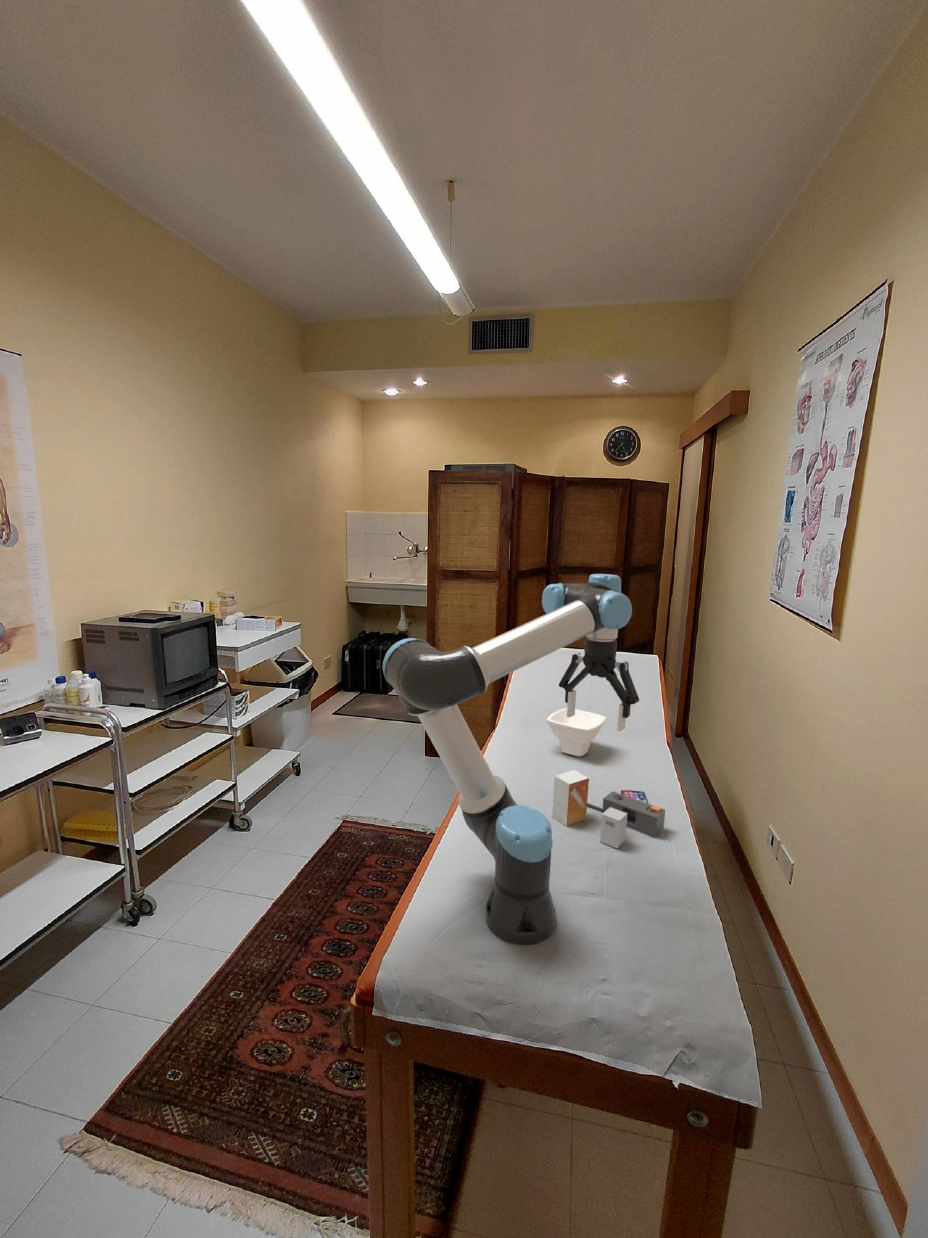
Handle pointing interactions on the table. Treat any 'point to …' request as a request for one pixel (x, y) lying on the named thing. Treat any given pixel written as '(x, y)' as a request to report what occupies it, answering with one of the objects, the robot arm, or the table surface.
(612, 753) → the table surface
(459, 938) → the table surface
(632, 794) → the smartphone
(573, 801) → the small box
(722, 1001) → the table surface
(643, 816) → the power strip
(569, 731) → the bowl
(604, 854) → the table surface
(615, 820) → the block
